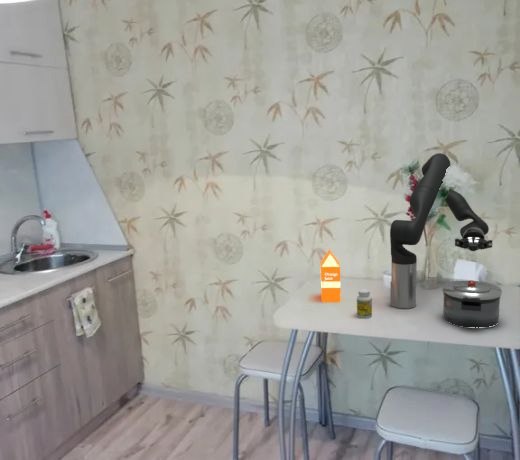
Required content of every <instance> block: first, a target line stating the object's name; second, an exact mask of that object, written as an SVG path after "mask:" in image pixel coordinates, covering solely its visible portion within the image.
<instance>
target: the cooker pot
mask: <svg viewBox="0 0 520 460" xmlns="http://www.w3.org/2000/svg"><path fill="white" fill-rule="evenodd" d="M442 292H443V291H442ZM500 302H501V296H500V297H498V298H496V299H491V300H480V302H474V301H463V299H460V298H456V297H452V296H449V295H447V294H445V293H444V292H443V309H442V310H443V312H442V313H443V315H442V318H443V317H444V318H443V320H444V319H445V320H446V321H448V322H450V323H452V324H451V325H453V324H455V325H458V326H457V327H459V326H463V327H462V328H464V327H475V328H476V327H478V328H479V327H489V326H493V325H496V324H497V323H498V322H500V321H499V320H500ZM445 320H444V321H445ZM446 321H445V322H446ZM448 322H447V323H448ZM450 323H449V324H450ZM498 324H499V323H498ZM455 325H454V326H455ZM496 326H497V325H496Z"/></svg>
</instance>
